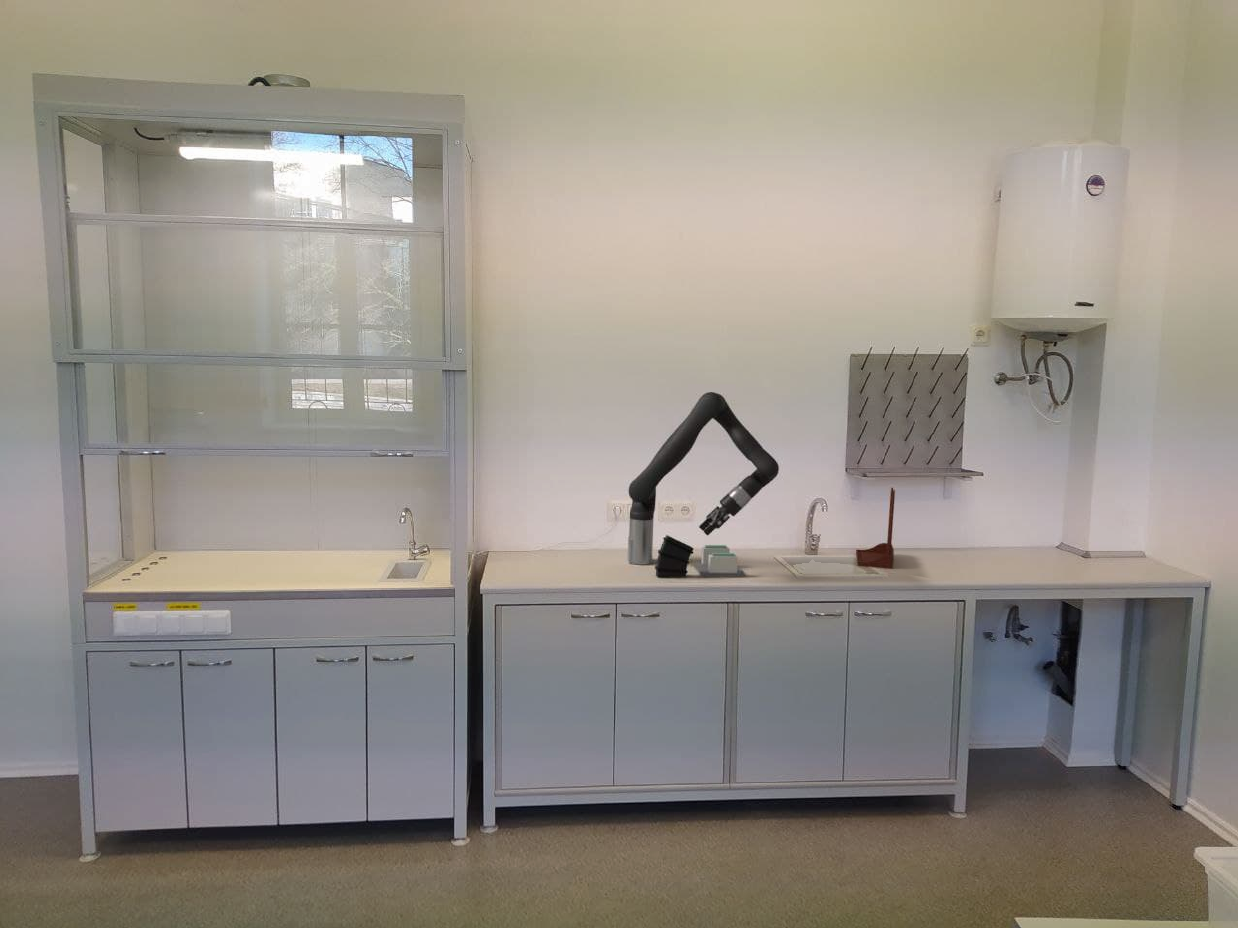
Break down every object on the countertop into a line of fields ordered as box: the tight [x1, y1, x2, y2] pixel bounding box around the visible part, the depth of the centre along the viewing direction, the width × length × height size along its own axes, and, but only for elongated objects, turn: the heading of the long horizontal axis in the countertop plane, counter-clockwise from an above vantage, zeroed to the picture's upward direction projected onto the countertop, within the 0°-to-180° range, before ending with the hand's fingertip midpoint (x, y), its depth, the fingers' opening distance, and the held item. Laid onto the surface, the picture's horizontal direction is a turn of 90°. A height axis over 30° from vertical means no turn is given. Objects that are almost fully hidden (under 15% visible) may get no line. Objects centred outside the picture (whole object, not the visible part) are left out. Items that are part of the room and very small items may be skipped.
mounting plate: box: [692, 544, 746, 578], centre depth 287 cm, size 16×17×8 cm
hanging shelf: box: [855, 487, 896, 570], centre depth 311 cm, size 24×13×30 cm, turn 164°
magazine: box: [654, 534, 694, 579], centre depth 278 cm, size 4×13×15 cm, turn 102°
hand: (702, 531), depth 278 cm, fingers open, 8 cm apart
